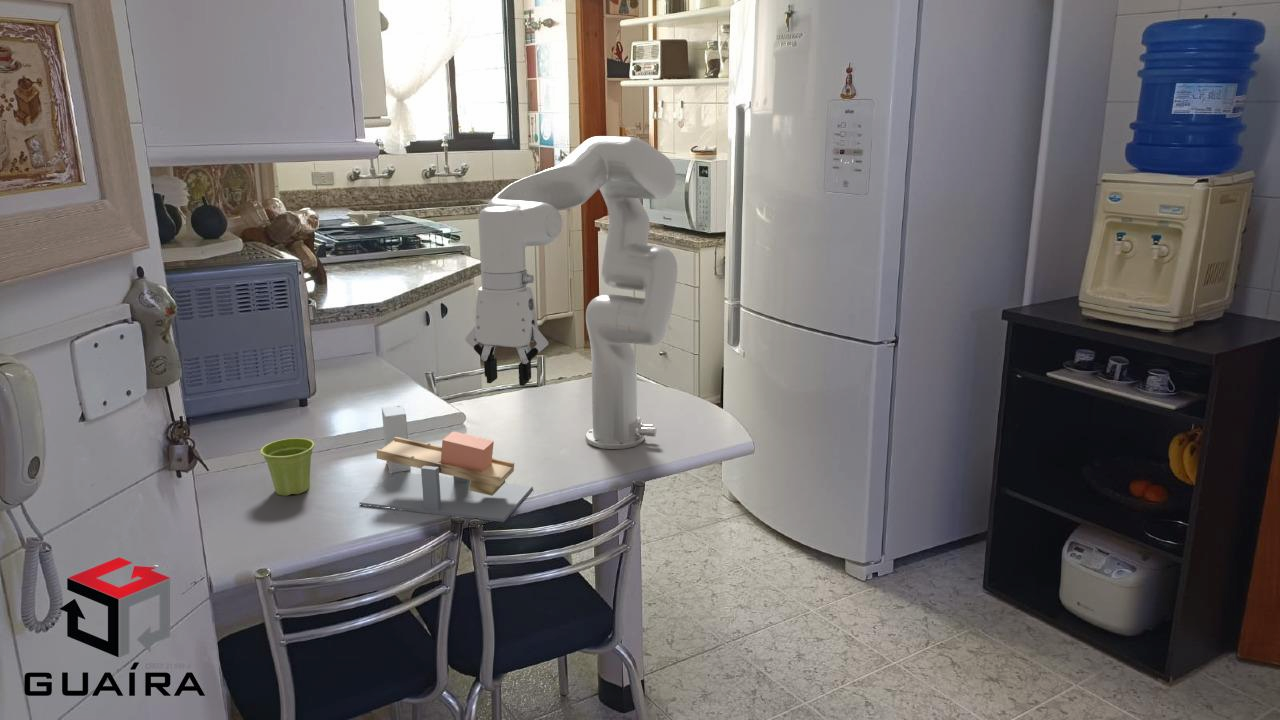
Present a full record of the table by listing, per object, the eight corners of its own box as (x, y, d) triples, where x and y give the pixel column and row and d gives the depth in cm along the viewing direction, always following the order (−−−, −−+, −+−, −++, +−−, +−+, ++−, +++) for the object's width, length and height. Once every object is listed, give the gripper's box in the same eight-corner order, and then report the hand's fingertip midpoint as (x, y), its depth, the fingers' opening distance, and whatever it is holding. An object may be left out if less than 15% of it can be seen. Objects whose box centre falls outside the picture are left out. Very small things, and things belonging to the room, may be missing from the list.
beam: (516, 479, 176) (517, 458, 174) (494, 502, 166) (496, 480, 165) (399, 453, 180) (400, 433, 179) (371, 474, 171) (372, 452, 170)
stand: (532, 489, 178) (531, 447, 175) (503, 522, 164) (501, 477, 162) (398, 474, 184) (395, 434, 182) (359, 505, 171) (355, 462, 169)
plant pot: (292, 503, 172) (287, 459, 169) (254, 494, 176) (249, 451, 173) (329, 484, 180) (325, 442, 177) (292, 476, 184) (287, 435, 181)
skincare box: (385, 462, 190) (381, 406, 187) (407, 459, 192) (403, 404, 188) (389, 473, 185) (384, 416, 182) (411, 470, 186) (406, 413, 183)
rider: (491, 463, 173) (493, 441, 171) (481, 472, 168) (483, 449, 167) (451, 453, 174) (453, 431, 173) (440, 462, 170) (442, 439, 169)
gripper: (558, 278, 161) (561, 379, 166) (466, 274, 165) (471, 372, 170) (543, 287, 154) (547, 392, 159) (447, 282, 158) (453, 385, 163)
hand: (508, 381), depth 165 cm, fingers open, 5 cm apart
